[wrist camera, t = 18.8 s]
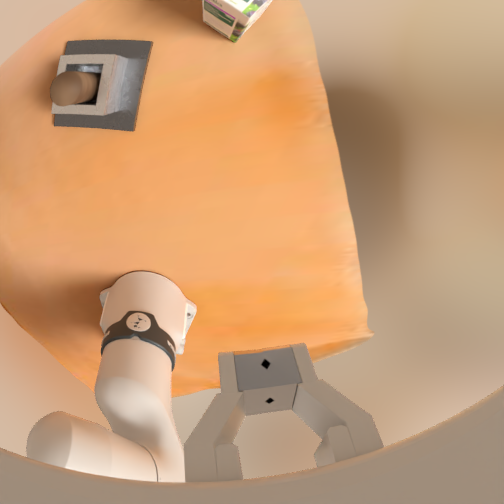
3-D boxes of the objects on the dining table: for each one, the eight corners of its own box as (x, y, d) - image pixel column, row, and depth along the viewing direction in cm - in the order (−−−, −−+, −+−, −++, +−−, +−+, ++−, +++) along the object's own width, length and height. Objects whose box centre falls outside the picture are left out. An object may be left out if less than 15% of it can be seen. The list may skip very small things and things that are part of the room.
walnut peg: (95, 105, 32) (64, 113, 24) (78, 88, 30) (43, 92, 22) (114, 84, 31) (87, 85, 23) (96, 67, 29) (65, 64, 21)
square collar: (134, 130, 36) (121, 139, 30) (57, 124, 33) (33, 133, 27) (153, 42, 30) (142, 34, 24) (70, 41, 27) (48, 37, 21)
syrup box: (201, 22, 29) (197, -11, 17) (229, -7, 27) (239, -49, 15) (235, 43, 32) (248, 20, 19) (262, 14, 29) (289, -18, 17)
